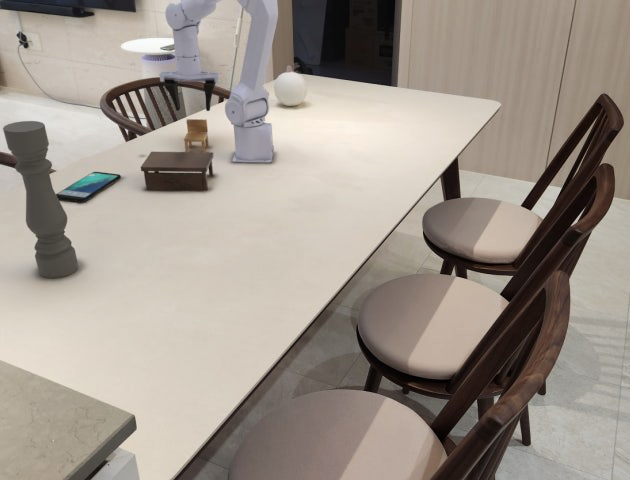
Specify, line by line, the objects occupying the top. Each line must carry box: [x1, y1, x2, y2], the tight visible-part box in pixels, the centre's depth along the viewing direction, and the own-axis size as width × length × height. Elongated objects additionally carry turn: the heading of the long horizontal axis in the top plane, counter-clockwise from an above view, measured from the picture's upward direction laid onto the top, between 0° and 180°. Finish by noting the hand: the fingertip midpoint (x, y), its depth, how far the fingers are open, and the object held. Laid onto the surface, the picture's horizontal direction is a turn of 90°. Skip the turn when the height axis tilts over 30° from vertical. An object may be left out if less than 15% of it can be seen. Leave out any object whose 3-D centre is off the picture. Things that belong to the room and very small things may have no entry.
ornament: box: [273, 65, 308, 107], centre depth 199 cm, size 10×10×12 cm
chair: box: [183, 118, 209, 152], centre depth 161 cm, size 5×6×7 cm
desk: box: [140, 151, 214, 192], centre depth 143 cm, size 14×10×6 cm
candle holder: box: [2, 120, 79, 279], centre depth 103 cm, size 6×6×25 cm
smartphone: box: [55, 171, 122, 203], centre depth 139 cm, size 7×1×15 cm
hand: (193, 109), depth 164 cm, fingers open, 7 cm apart
